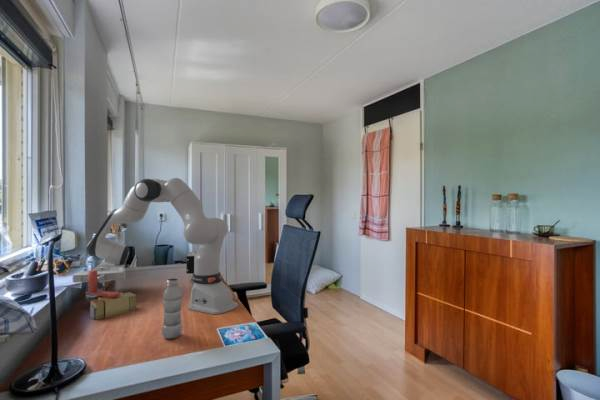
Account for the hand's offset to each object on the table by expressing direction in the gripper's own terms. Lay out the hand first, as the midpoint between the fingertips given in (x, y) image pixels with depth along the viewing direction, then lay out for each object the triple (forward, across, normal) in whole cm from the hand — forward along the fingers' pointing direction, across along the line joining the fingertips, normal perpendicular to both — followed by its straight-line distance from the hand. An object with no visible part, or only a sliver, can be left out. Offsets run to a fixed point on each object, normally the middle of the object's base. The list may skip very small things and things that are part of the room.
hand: (95, 280), depth 134 cm
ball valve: (-33, +41, +13) cm, 54 cm away
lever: (+5, +5, +5) cm, 9 cm away
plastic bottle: (+39, +34, +13) cm, 53 cm away
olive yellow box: (+7, +9, +12) cm, 17 cm away
